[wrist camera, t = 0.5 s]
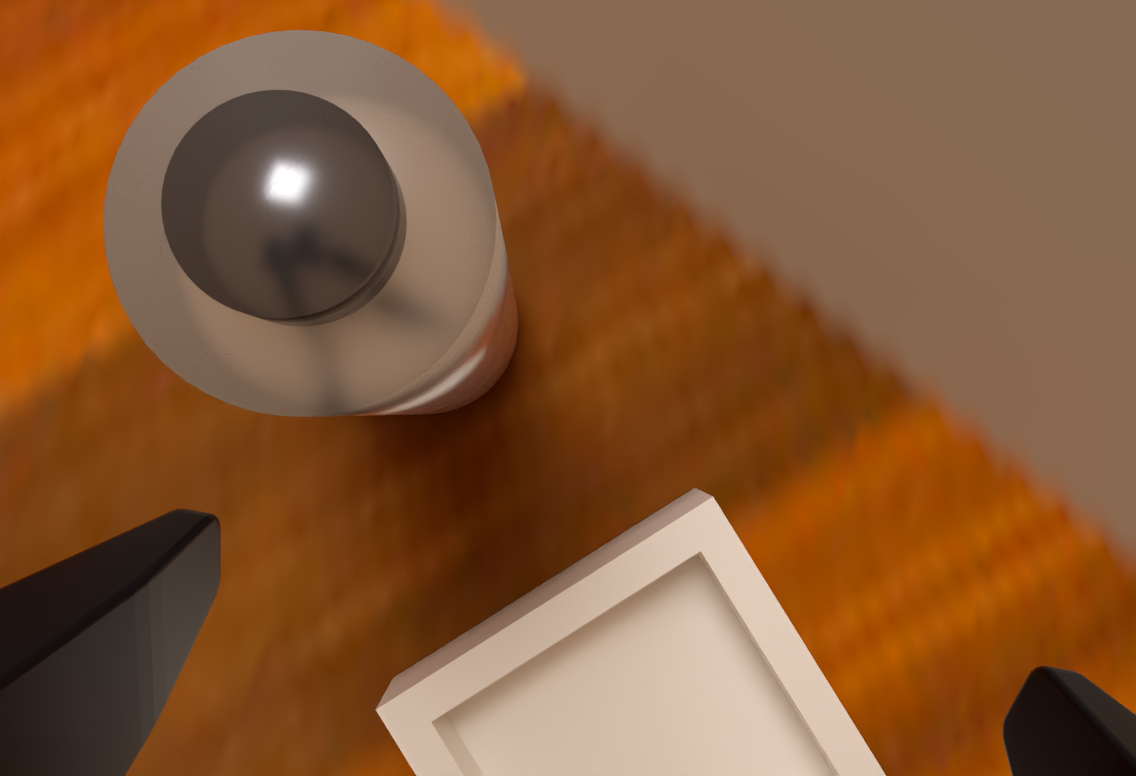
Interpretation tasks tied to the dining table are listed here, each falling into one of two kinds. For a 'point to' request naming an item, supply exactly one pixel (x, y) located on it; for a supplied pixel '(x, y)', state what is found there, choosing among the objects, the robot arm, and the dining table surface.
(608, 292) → the dining table surface
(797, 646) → the serving tray
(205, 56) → the metal water bottle
